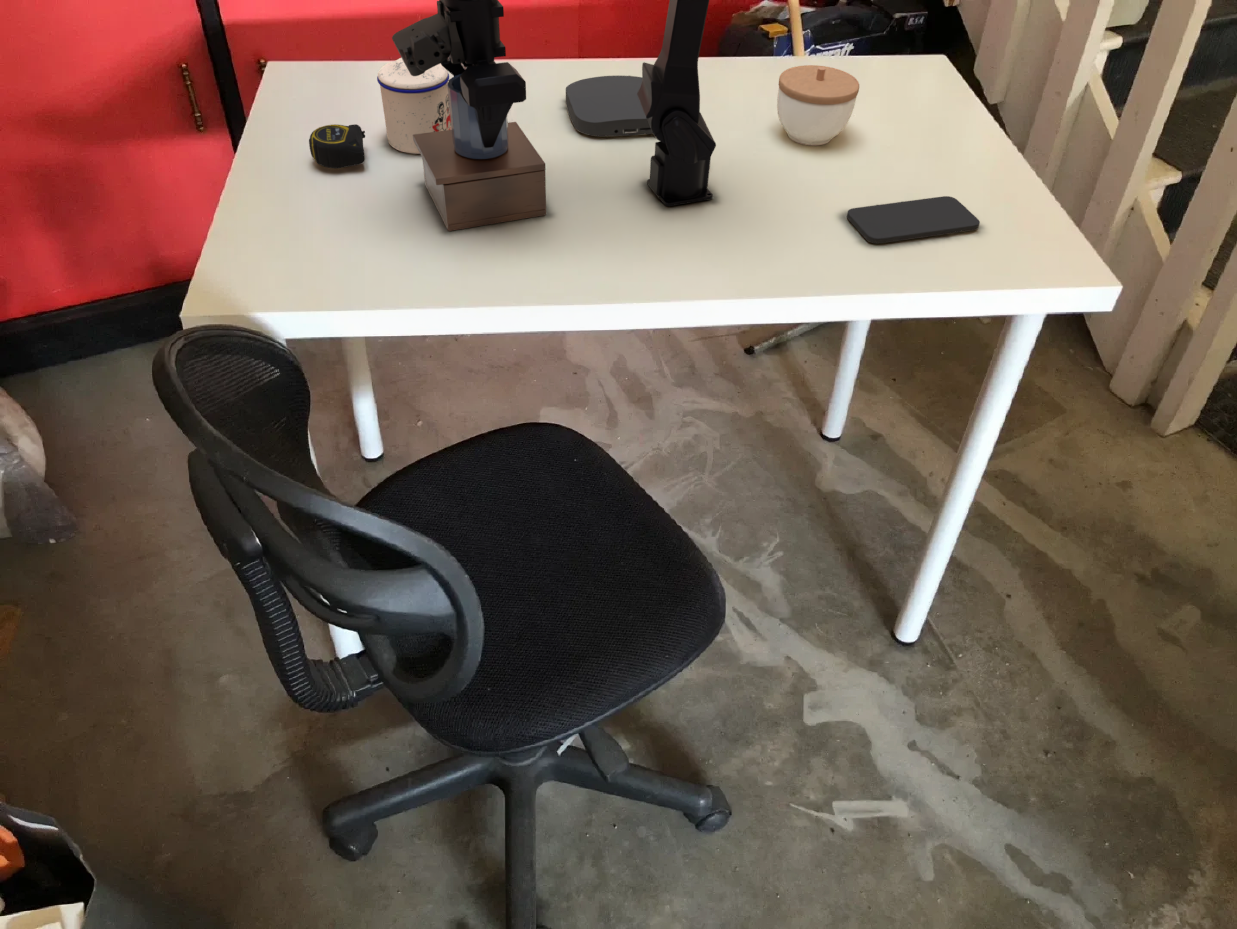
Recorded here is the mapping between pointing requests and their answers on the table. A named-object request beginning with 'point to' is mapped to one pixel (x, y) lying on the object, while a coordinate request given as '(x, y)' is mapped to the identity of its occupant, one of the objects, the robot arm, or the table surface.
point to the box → (489, 199)
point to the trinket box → (815, 102)
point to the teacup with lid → (413, 103)
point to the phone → (912, 219)
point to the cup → (471, 127)
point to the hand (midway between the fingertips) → (480, 134)
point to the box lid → (458, 168)
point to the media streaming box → (607, 106)
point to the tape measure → (337, 145)
